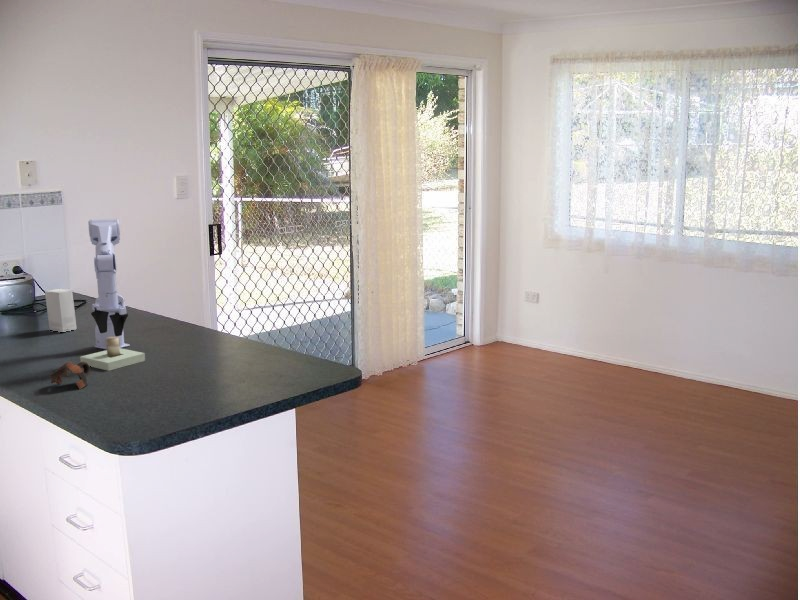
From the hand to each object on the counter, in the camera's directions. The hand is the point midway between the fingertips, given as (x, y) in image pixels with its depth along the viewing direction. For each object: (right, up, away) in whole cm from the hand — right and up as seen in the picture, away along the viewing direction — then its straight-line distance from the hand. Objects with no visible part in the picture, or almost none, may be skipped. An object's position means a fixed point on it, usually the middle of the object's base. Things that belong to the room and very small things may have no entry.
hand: (111, 334), depth 265 cm
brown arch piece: (-3, -14, -23) cm, 27 cm away
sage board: (0, -9, +2) cm, 9 cm away
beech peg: (0, -9, +2) cm, 9 cm away
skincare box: (-35, -1, +48) cm, 59 cm away
